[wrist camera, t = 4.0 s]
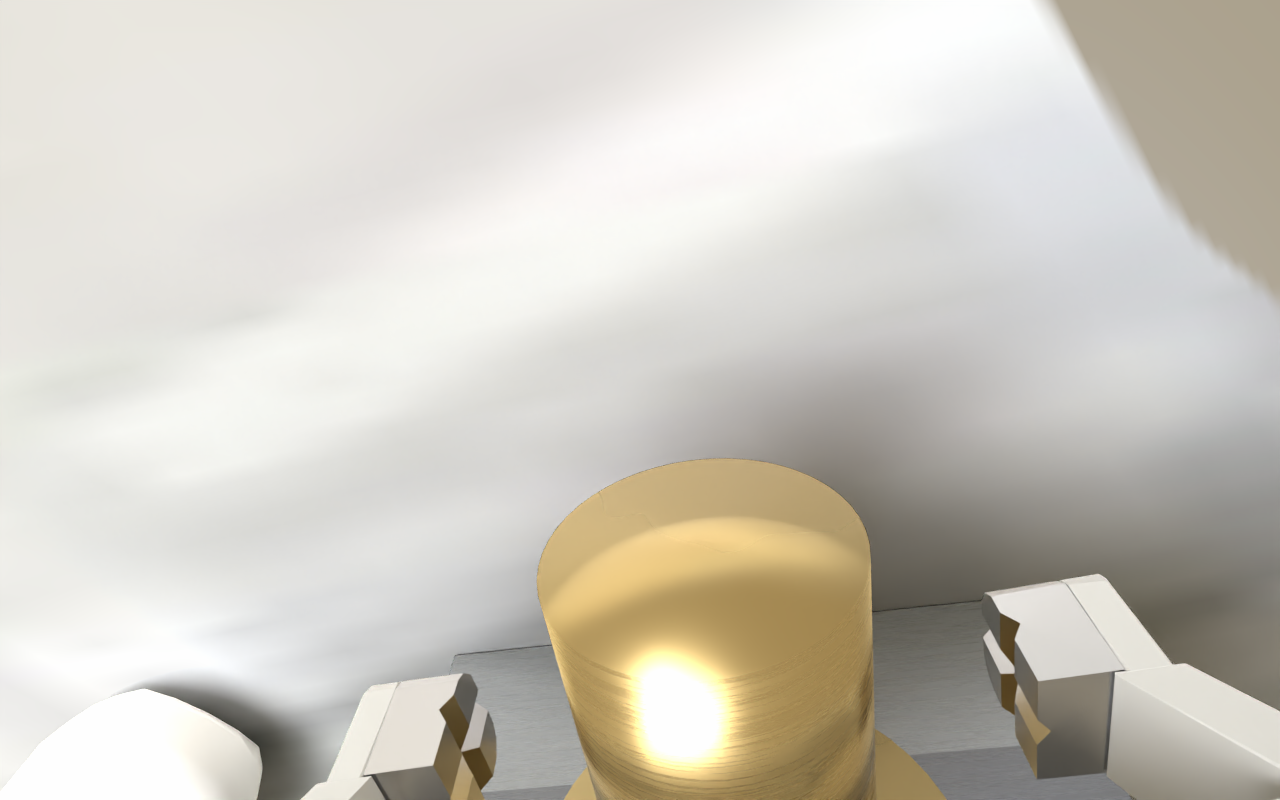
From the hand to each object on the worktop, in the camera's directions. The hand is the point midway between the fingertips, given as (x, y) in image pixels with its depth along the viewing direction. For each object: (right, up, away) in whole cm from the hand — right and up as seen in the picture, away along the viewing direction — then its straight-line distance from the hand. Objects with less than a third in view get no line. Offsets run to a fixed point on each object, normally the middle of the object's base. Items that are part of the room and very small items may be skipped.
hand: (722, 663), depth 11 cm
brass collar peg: (+1, -3, +5) cm, 6 cm away
